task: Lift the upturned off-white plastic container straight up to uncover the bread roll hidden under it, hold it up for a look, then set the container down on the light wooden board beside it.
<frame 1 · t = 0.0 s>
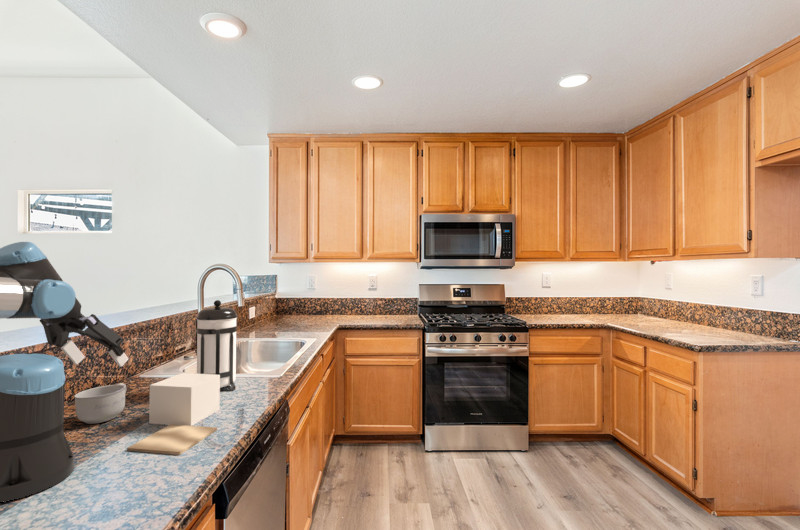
hand: (102, 361, 102), 15 cm above the countertop, tool tilted 35°, fingers open, 13 cm apart
teacup: (105, 418, 103), on the countertop
coffee press: (217, 389, 128), on the countertop
board: (174, 439, 90), on the countertop
bread roll: (186, 417, 104), on the countertop
cover: (186, 416, 104), on the countertop
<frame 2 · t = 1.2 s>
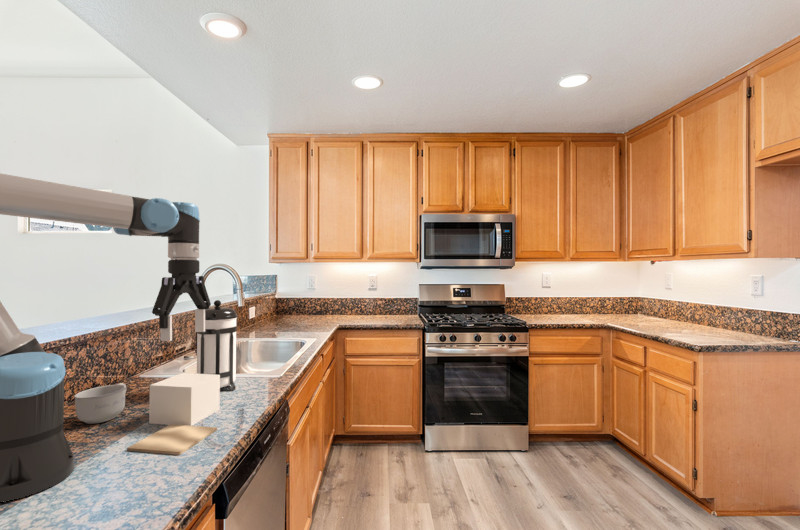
hand: (184, 336, 104), 22 cm above the countertop, tool pointing down, fingers open, 13 cm apart
nothing on the countertop moved.
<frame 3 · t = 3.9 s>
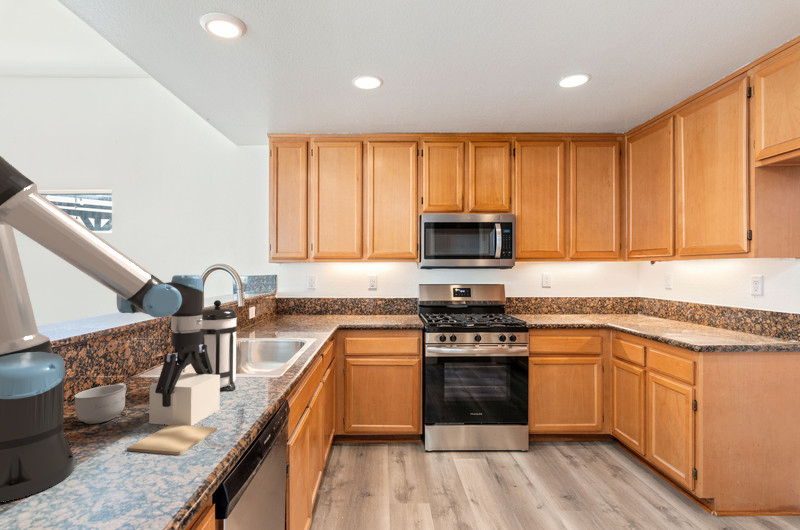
hand: (186, 409, 104), 2 cm above the countertop, tool pointing down, fingers closed on cover, 12 cm apart
cover: (186, 416, 104), on the countertop, touching gripper
everything else where it was.
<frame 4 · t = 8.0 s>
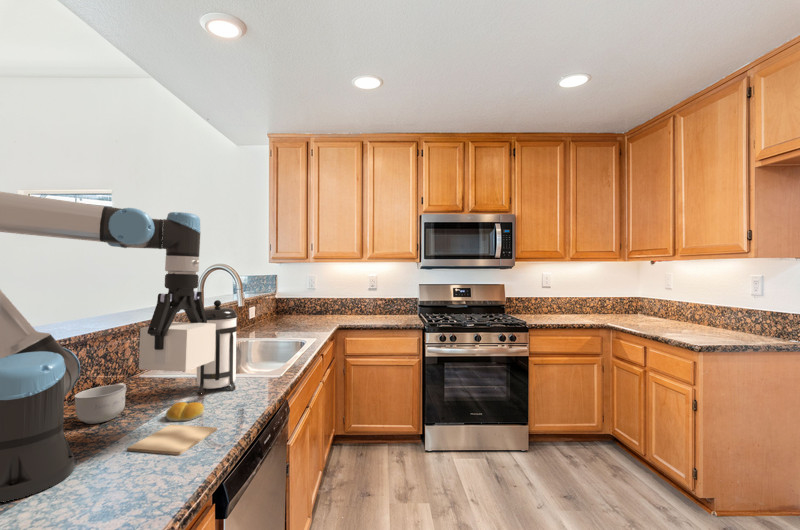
hand: (178, 357, 97), 18 cm above the countertop, tool pointing down, fingers closed on cover, 12 cm apart
cover: (178, 364, 97), point 16 cm above the countertop, touching gripper
everything else where it was.
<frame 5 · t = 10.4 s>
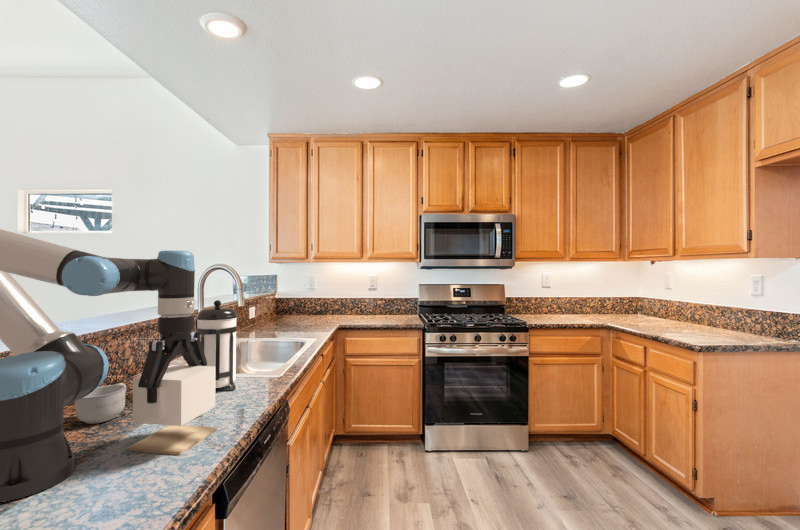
hand: (176, 406, 90), 8 cm above the countertop, tool pointing down, fingers closed on cover, 12 cm apart
cover: (176, 414, 90), point 6 cm above the countertop, touching gripper
everything else where it was.
when the fingers open (4 cm above the countertop, at t = 12.3 s): cover drops 1 cm, resting on board.
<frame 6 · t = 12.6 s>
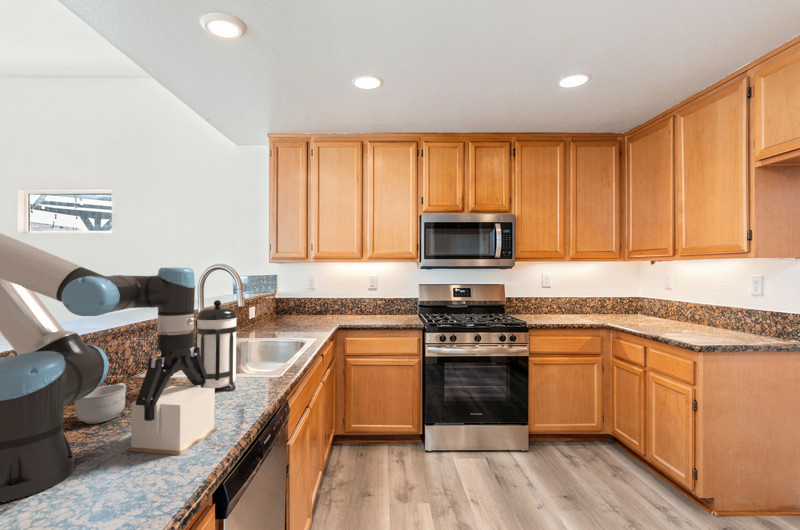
hand: (175, 421, 90), 4 cm above the countertop, tool pointing down, fingers open, 13 cm apart
cover: (175, 437, 90), point 1 cm above the countertop, touching board
everything else where it was.
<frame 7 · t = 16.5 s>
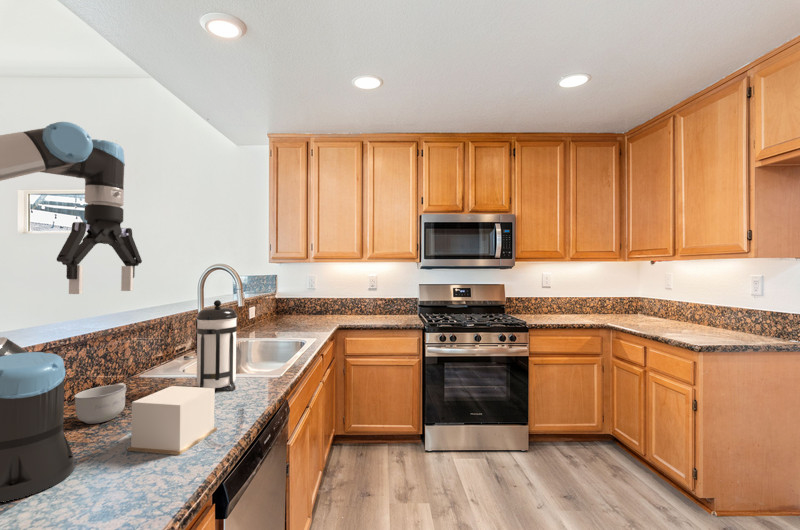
hand: (103, 292, 92), 35 cm above the countertop, tool pointing down, fingers open, 13 cm apart
nothing on the countertop moved.
at the end: cover 0.1 cm off-centre on the board, point 0.6 cm above the board's base; cover tilted 0°; the gripper is holding nothing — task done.
